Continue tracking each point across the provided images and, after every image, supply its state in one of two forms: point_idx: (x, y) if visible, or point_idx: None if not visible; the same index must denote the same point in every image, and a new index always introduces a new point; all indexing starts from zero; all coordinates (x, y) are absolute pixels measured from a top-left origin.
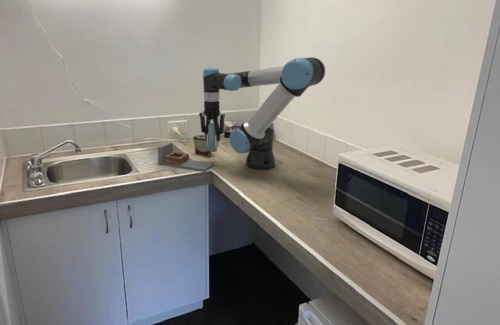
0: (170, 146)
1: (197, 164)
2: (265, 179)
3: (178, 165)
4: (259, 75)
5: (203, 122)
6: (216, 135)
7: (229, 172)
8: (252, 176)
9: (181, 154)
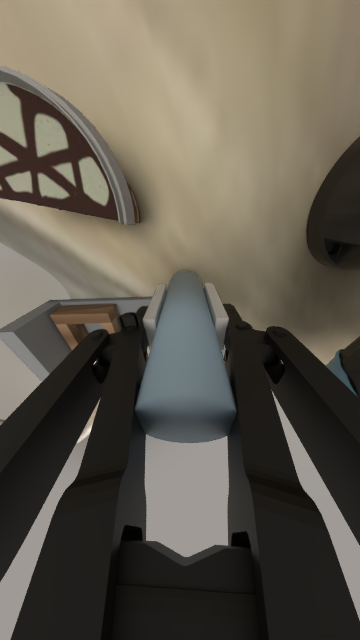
0: (34, 336)
1: None
2: (353, 323)
3: None
4: None
5: (65, 442)
6: (223, 344)
7: (256, 320)
8: (319, 320)
9: (92, 322)
